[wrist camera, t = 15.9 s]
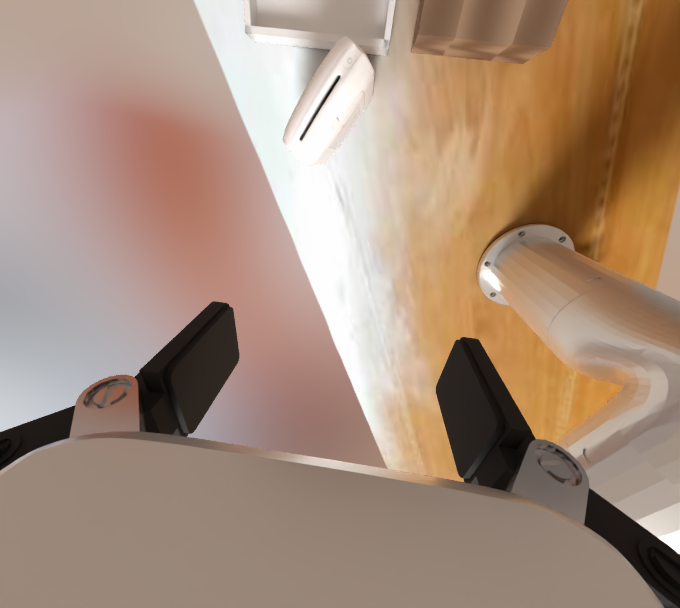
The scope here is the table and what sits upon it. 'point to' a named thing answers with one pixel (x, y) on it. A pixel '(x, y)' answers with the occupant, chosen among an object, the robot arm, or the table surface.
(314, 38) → the tray
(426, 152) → the table surface
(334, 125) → the photo printer
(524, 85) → the table surface
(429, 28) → the holder
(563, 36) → the table surface
